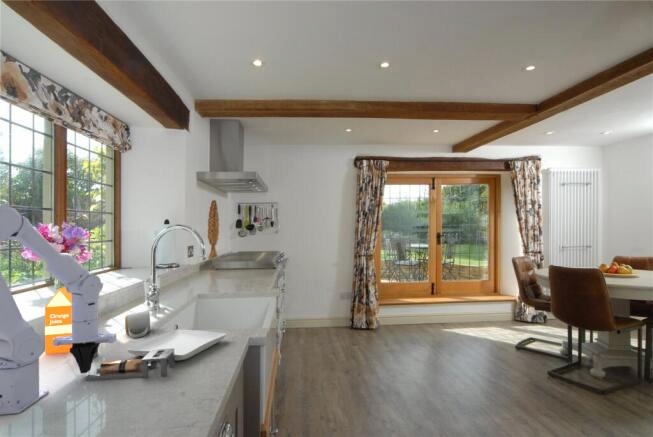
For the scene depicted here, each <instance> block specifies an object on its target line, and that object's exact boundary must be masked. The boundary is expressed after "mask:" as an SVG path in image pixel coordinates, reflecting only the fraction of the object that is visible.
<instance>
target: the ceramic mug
mask: <svg viewBox="0 0 653 437" xmlns="http://www.w3.org/2000/svg"><path fill="white" fill-rule="evenodd" d="M150 318H151V315H150V310H144V311H139V312H134V313H129V314H127V315H126V316H125V317H124V326H125V333H126V335H129V337H130V338H134V339H139V338H142V337H143V336H144V337H145V335H146V334H147V333H150V332H151V319H150Z"/></svg>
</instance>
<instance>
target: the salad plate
mask: <svg viewBox="0 0 653 437" xmlns="http://www.w3.org/2000/svg"><path fill="white" fill-rule="evenodd" d="M226 335H227V333H225V332H215V331H208V330H207V331H206V330H205V331H204V330H193V329H173V330H171V331H168V332H165V333H162V334H161V335H160V334H159V335H158V336H155V337H153V338H150V339H147V340H145V341H142V342H140V343H137V344H135V345H133V346H130V347H128V348H127V349H126V351H127V352H128V353H129V354H131V355H135V356H139V357H143V358H144V357H145V356H146V355H147V354H148V353H149V352H150V351H151V350H156V349H172V348H174V352H175V361H177V362H179V361H185V360H188V359H190V358H191V357H193V356H195V355H197V354H199V353H201V352H203V351H205V350H207V349H208V348H210V347H212V346H214V345H216V344H218V343H219V342H221V341H222V340H223V339H224V338H225V337H226ZM162 353H163V352H160V353H158V354H157V357H159V356H160V355H161V354H162ZM167 361H169V357H168V358H167Z"/></svg>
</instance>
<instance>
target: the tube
mask: <svg viewBox="0 0 653 437" xmlns="http://www.w3.org/2000/svg"><path fill="white" fill-rule="evenodd" d="M142 359H143V358H138V359H137V358H136V359H121V360H105V361H102V362H101V364H100V365H99V367H100V370H99V374H113V373H128V372H142V364H141V360H142Z"/></svg>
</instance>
